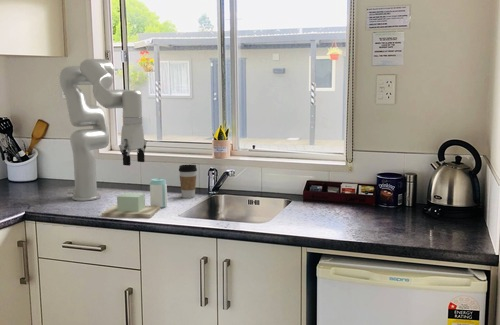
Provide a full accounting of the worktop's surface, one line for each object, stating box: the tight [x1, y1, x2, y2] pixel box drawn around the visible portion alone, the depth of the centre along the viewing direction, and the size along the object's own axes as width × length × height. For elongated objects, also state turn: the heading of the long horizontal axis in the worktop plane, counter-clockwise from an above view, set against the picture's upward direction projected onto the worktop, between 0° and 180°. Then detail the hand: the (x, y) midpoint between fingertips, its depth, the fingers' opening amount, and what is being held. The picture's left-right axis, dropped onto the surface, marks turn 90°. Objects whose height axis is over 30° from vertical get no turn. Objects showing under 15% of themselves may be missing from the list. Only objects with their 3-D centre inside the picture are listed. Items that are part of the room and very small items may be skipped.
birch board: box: [101, 204, 161, 219], centre depth 224 cm, size 20×14×2 cm
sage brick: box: [116, 192, 146, 212], centre depth 224 cm, size 9×7×6 cm
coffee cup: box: [178, 164, 198, 199], centre depth 254 cm, size 8×8×15 cm
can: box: [149, 177, 168, 209], centre depth 234 cm, size 7×7×12 cm
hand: (134, 163), depth 223 cm, fingers open, 9 cm apart
